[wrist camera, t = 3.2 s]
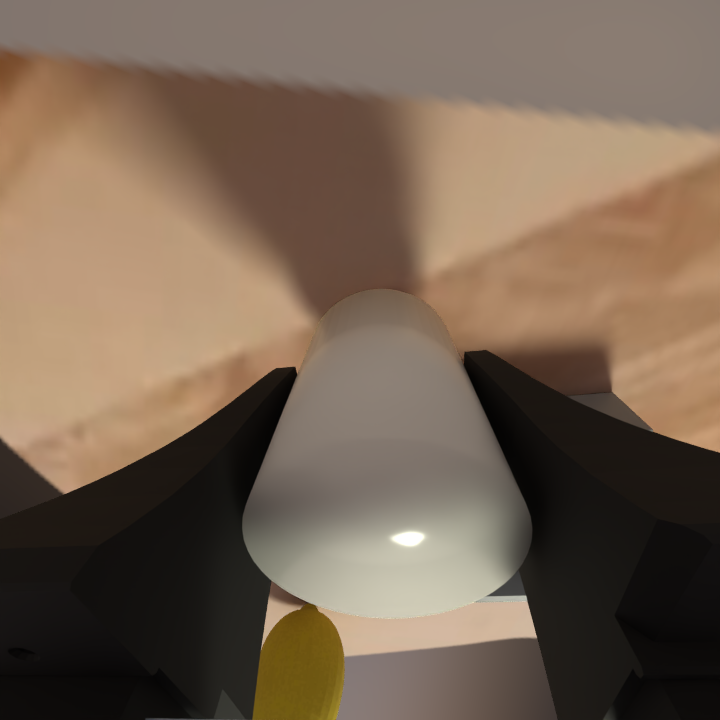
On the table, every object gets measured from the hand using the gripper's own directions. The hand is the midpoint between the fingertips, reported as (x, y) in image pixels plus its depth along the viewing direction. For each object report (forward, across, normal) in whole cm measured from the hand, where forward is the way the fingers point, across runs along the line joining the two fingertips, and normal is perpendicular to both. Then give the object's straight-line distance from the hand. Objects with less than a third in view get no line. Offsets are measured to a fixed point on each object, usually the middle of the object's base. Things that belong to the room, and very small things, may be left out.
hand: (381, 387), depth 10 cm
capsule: (+2, 0, 0) cm, 2 cm away
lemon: (+4, +7, +21) cm, 23 cm away
